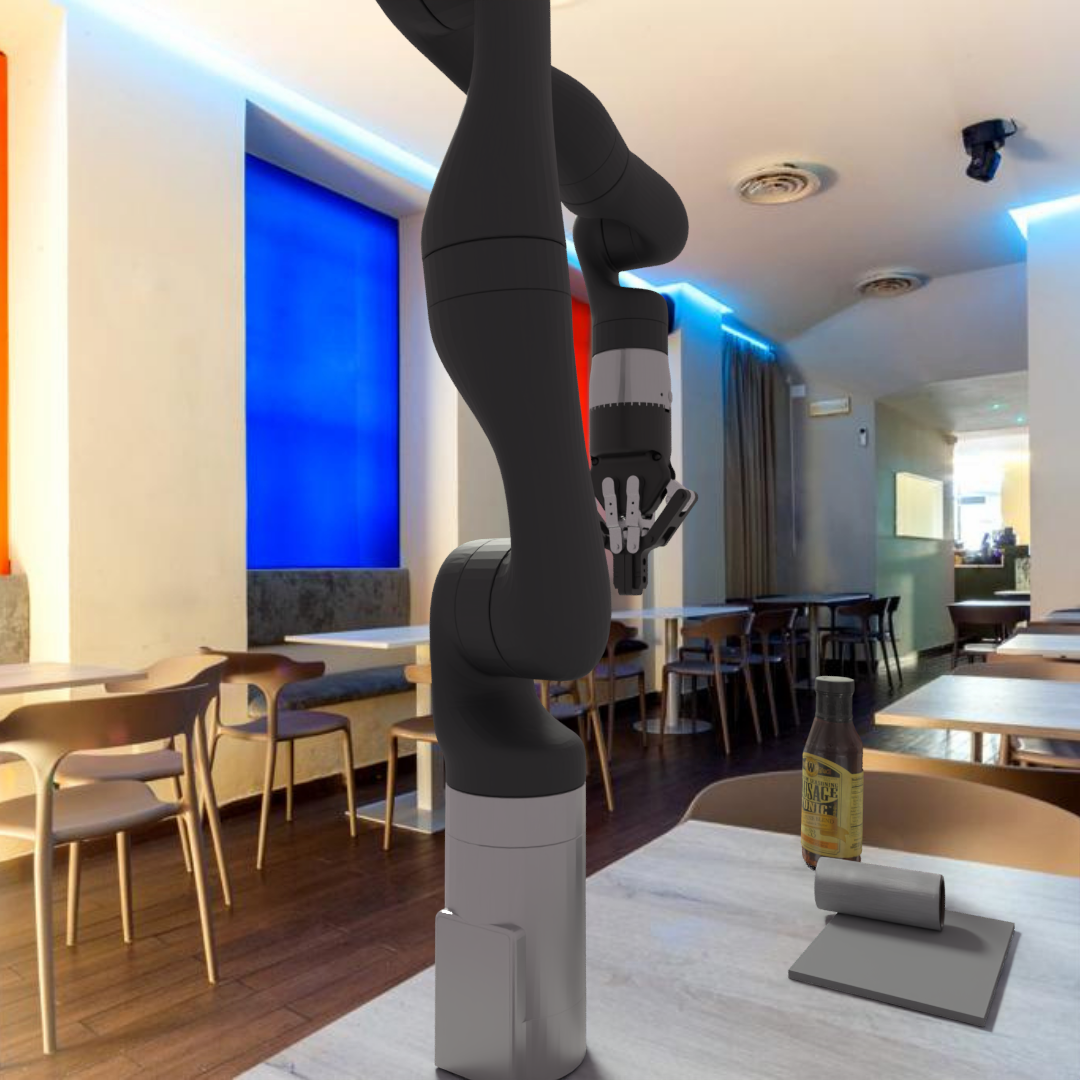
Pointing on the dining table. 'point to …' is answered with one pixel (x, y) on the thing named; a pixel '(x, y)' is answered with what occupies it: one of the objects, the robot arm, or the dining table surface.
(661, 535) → the robot arm
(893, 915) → the grey hollow cylinder
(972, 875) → the dining table surface
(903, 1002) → the mat
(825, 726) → the sauce bottle
